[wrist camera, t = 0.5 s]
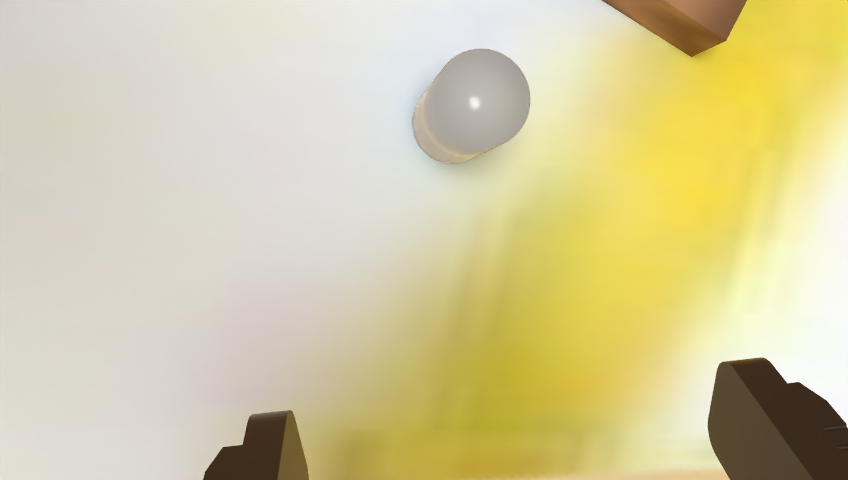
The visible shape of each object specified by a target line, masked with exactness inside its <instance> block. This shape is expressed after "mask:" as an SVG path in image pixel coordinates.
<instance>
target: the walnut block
mask: <svg viewBox="0 0 848 480" xmlns="http://www.w3.org/2000/svg"><path fill="white" fill-rule="evenodd" d="M603 1H604V2H606V3H608V4H609V5H611V6H612V7H614V8H615V9H617V10H619V11H620V12H622V13H623V14H625V15H626V16H628V17H630V18H631V19H633V20H634V21H636V22H638V23H639V24H641V25H642V26H644V27H645V28H647V29H649V30H650V31H652V32H653V33H655V34H657V35H658V36H660V37H661V38H663V39H664V40H666V41H668V42H669V43H671V44H672V45H674V46H675V47H677V48H679V49H680V50H682V51H683V52H685V53H687V54H688V55H690V56H691V57H692V56H694V55H696V54H698V53H700V52H703V51H705V50H707V49H709V48H711V47H713V46H715V45H718V44H720V43H722V42H724V41H726V40H727V38H728V36H729V34H730V32H731V30H732V28H733V26H734V24H735V22H736V21H737V19H738V17H739V15H740V13H741V11H742V9H743V7H744V5H745V3H746V1H747V0H603Z"/></svg>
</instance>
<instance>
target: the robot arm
mask: <svg viewBox="0 0 848 480" xmlns="http://www.w3.org/2000/svg"><path fill="white" fill-rule="evenodd" d="M708 432H709V437H710V441H711V445H712V447H713V450H714V452H715V454H716V456H717V458H718V459H719V461H720V463H721V465H722V466H723V468H724V470H725V472H726V473H727V475H728V477H729V478H730V480H848V428H847V426H846V423H845V422H844V421H843V419H842V418H841V417H840V416H839V415H838V414H837V412H836V411H835V410H834V409H833V408H832V406H831V405H830V404H829V403H828V402H827V401H826V400H825V399H823V398H822V397H820V396H819V395H817V394H816V393H814V392H813V391H811V390H810V389H808V388H807V387H805V386H804V385H802V384H801V383H799V382H796V383H788V384H787V382H786V381H785V380H784V379H783V377H782V376H781V375H780V374H779V372H778V371H777V370H776V369H775V367H774V366H773V365H772V364H771V363H770V362H769V361H768V360H767V359H765V358H753V359H744V360H736V361H727V362H722V363H720V365H719V366H718V369H717V373H716V379H715V384H714V390H713V395H712V401H711V406H710V412H709V417H708ZM203 480H309V477H308V469H307V464H306V460H305V456H304V452H303V448H302V444H301V441H300V437H299V433H298V429H297V425H296V421H295V417H294V414H293V412H292V411H291V410H288V411H279V412H271V413H262V414H253V415H251V416H250V417H249V420H248V423H247V428H246V432H245V437H244V441H243V445H238V446H230V447H223V448H222V449H221V451H220V452H219V453H218V455H217V456H216V458H215V459H214V460H213V462H212V463H211V465H210V466H209V467H208V469H207V470H206V471H205V475H204V478H203Z"/></svg>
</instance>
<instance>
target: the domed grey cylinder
mask: <svg viewBox="0 0 848 480" xmlns="http://www.w3.org/2000/svg"><path fill="white" fill-rule="evenodd" d="M529 108H530V91H529V86H528V83H527V81H526V78H525V76H524V74H523V73H522V71H521V70H520V68H519V67H518V66H517V65H516V64H515V63H514V62H513V61H512V60H511V59H510V58H508V57H507V56H505V55H503V54H501V53H499V52H496V51H493V50H489V49H473V50H468V51H465V52H463V53H461V54H459V55H457V56H455V57H454V58H452V59H451V60H450V61H449V62H448V63H447V64H446V65H445V67H444V68H443V69H442V70H441V72H440V73H439V74H438V76H437V77H436V78H435V80H434V81H433V82H432V84H431V85H430V86H429V88H428V89H427V90H426V92H425V93H424V94H423V96H422V97H421V98H420V100H419V101H418V103H417V105H416V107H415V110H414V113H413V118H412V126H413V132H414V136H415V138H416V141H417V143H418V144H419V146H420V147H421V149H422V150H423V151H424V152H425V153H426V154H428V155H429V156H430V157H432V158H433V159H435V160H438V161H440V162H444V163H460V162H464V161H467V160H469V159H471V158H473V157H475V156H478V155H480V154H482V153H484V152H486V151H488V150H490V149H493V148H495V147H497V146H499V145H501V144H503V143H505V142H507V141H509V140H510V139H511V138H513V137H514V136H515V135H516V134H517V133H518V132H519V131H520V129H521V128H522V126H523V125H524V123H525V121H526V119H527V116H528V113H529Z"/></svg>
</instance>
